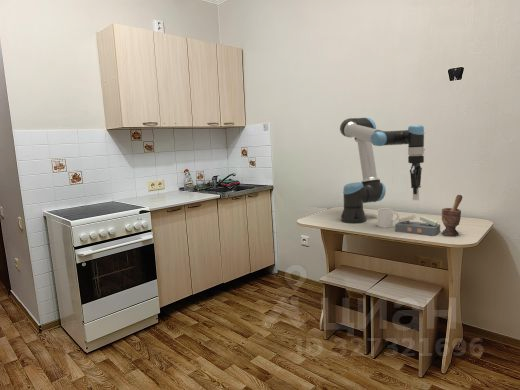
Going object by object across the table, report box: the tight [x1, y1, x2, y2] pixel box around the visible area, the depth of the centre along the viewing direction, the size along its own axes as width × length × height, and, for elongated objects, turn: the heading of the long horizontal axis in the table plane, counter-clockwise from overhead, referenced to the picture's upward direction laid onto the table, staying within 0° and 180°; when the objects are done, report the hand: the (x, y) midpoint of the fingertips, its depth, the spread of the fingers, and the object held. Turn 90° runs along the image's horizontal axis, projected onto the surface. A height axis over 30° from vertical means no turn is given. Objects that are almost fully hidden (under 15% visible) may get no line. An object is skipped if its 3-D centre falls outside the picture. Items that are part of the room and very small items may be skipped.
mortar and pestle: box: [441, 194, 463, 237], centre depth 186 cm, size 12×9×20 cm
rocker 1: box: [397, 214, 417, 222], centre depth 198 cm, size 8×4×2 cm, turn 50°
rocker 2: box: [419, 215, 439, 226], centre depth 191 cm, size 8×4×2 cm, turn 51°
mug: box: [377, 207, 400, 229], centre depth 208 cm, size 8×12×10 cm, turn 49°
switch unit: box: [394, 220, 441, 237], centre depth 195 cm, size 20×10×5 cm, turn 50°
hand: (415, 200), depth 193 cm, fingers closed
